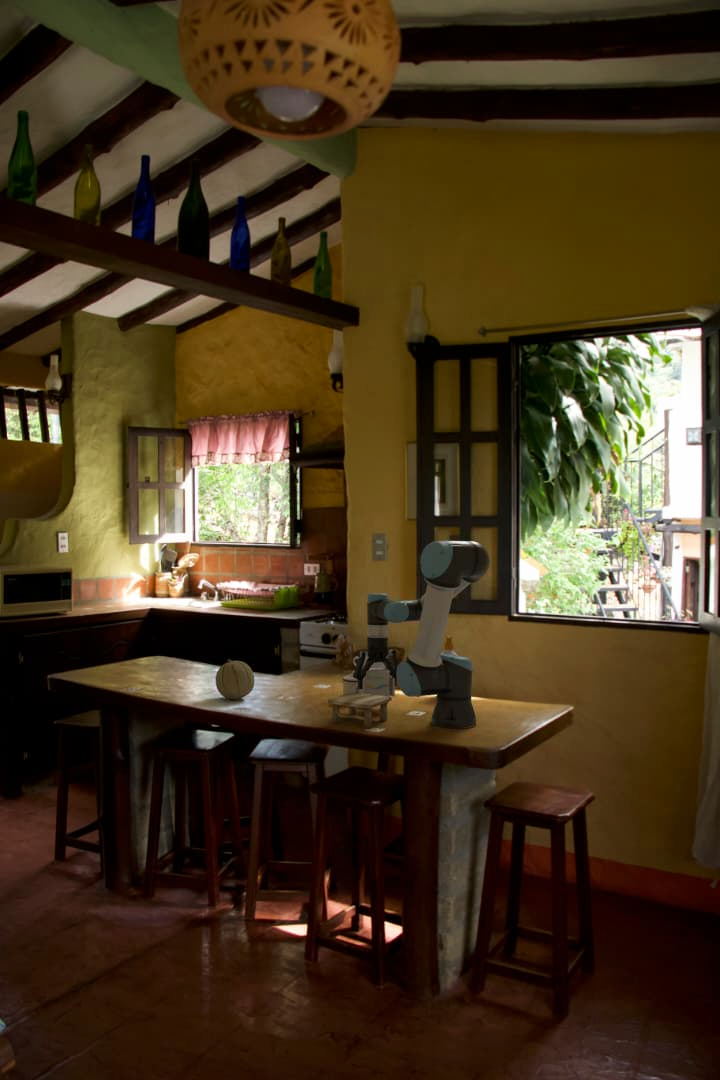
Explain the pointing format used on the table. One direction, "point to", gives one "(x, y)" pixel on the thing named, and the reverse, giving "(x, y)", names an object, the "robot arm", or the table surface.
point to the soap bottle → (449, 647)
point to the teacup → (375, 665)
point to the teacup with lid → (350, 684)
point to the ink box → (377, 682)
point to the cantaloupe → (234, 680)
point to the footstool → (359, 706)
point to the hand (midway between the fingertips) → (377, 697)
